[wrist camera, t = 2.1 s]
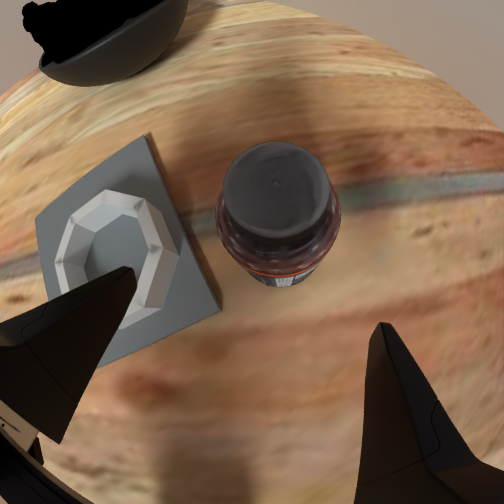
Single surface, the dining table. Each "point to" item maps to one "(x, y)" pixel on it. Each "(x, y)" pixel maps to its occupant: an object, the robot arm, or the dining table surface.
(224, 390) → the dining table surface
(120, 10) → the dark bowl with contents
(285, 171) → the supplement bottle
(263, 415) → the dining table surface
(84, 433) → the dining table surface
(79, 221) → the collar mount
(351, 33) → the dining table surface
